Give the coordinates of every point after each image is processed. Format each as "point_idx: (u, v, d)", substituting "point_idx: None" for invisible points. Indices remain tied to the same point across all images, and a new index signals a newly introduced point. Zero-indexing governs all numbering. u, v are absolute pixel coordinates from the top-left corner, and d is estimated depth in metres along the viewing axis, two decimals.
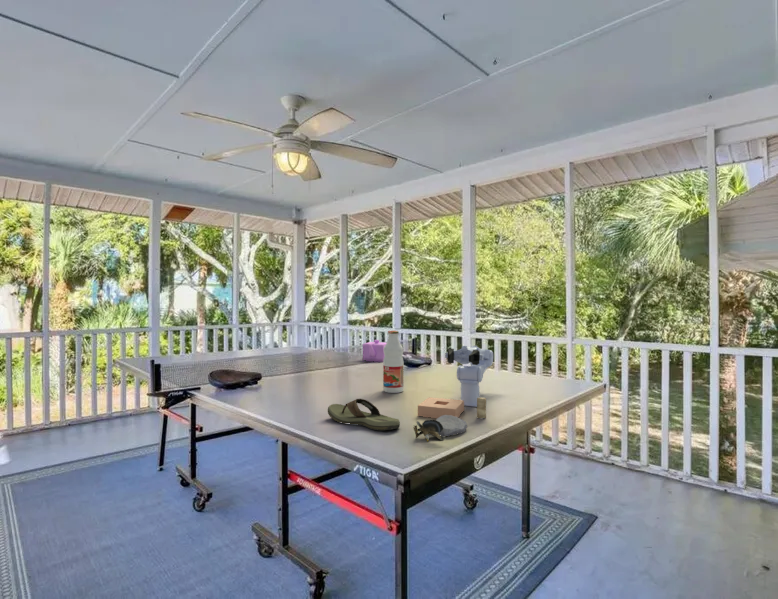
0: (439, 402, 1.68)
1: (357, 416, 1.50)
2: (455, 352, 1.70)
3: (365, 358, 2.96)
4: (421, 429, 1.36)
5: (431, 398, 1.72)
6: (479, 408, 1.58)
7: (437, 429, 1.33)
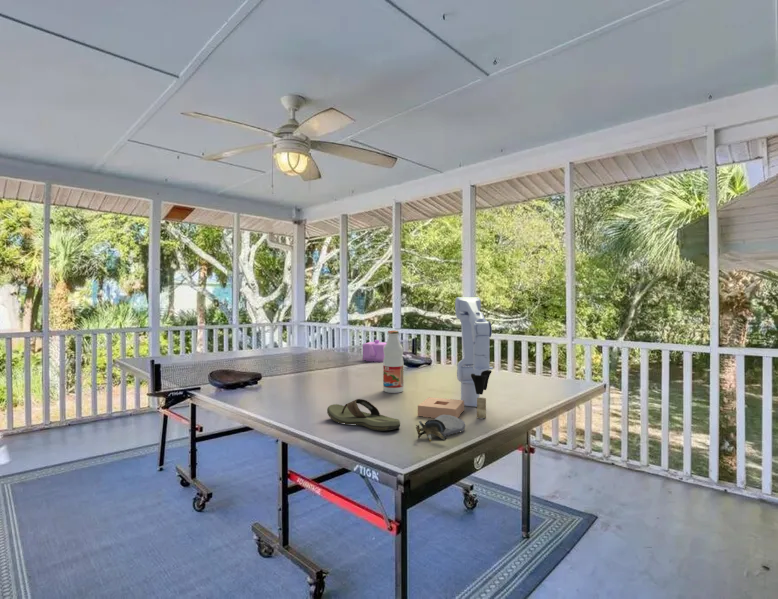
0: (439, 402, 1.68)
1: (357, 416, 1.50)
2: (483, 370, 1.55)
3: (365, 358, 2.96)
4: (423, 429, 1.36)
5: (431, 398, 1.72)
6: (479, 408, 1.58)
7: (440, 429, 1.34)
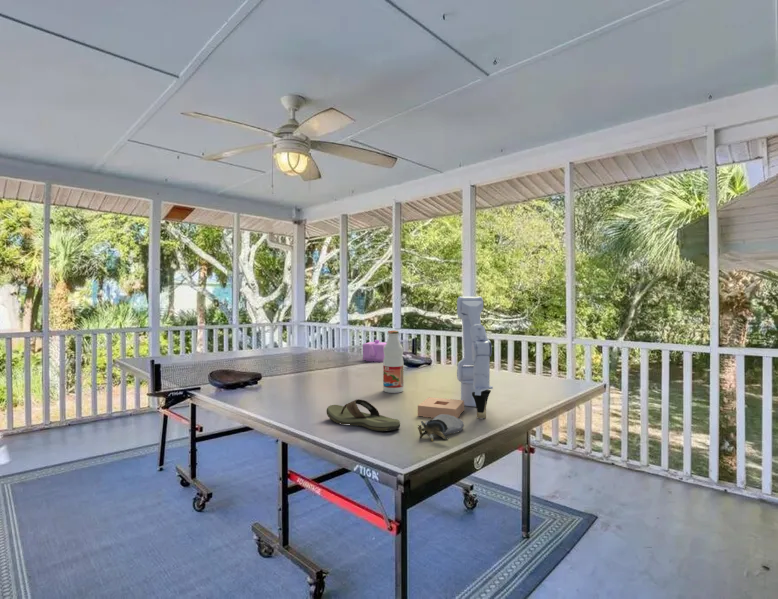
0: (439, 402, 1.68)
1: (357, 417, 1.49)
2: None
3: (365, 358, 2.96)
4: (425, 429, 1.36)
5: (431, 398, 1.72)
6: None
7: (441, 429, 1.34)
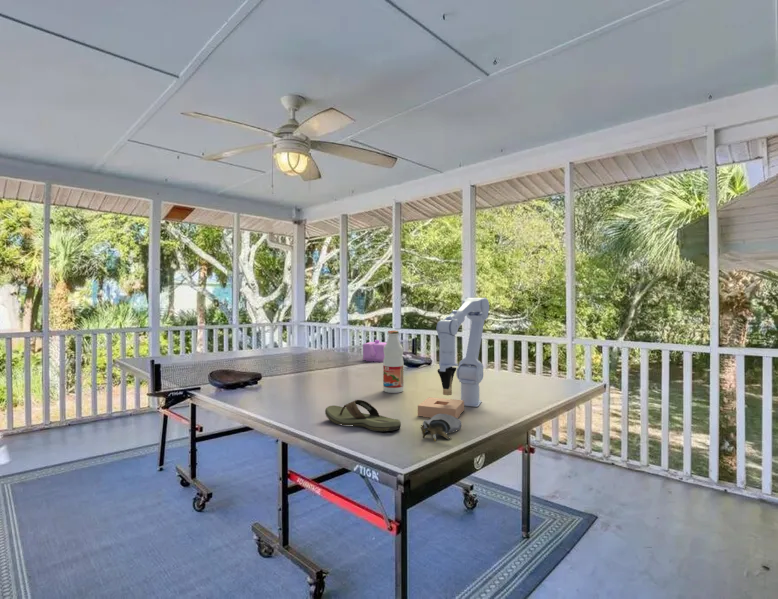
0: (439, 402, 1.68)
1: (357, 417, 1.48)
2: (448, 367, 1.60)
3: (365, 358, 2.95)
4: (428, 429, 1.36)
5: (431, 398, 1.72)
6: None
7: (444, 429, 1.34)
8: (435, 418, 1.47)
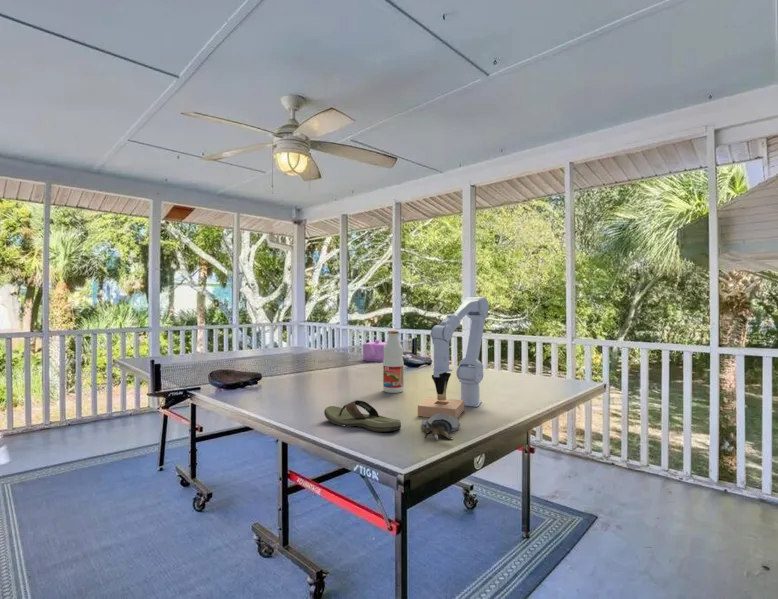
0: (439, 402, 1.68)
1: (357, 418, 1.48)
2: (442, 372, 1.61)
3: (366, 358, 2.95)
4: (430, 429, 1.36)
5: (431, 398, 1.72)
6: None
7: (446, 429, 1.34)
8: (434, 418, 1.47)
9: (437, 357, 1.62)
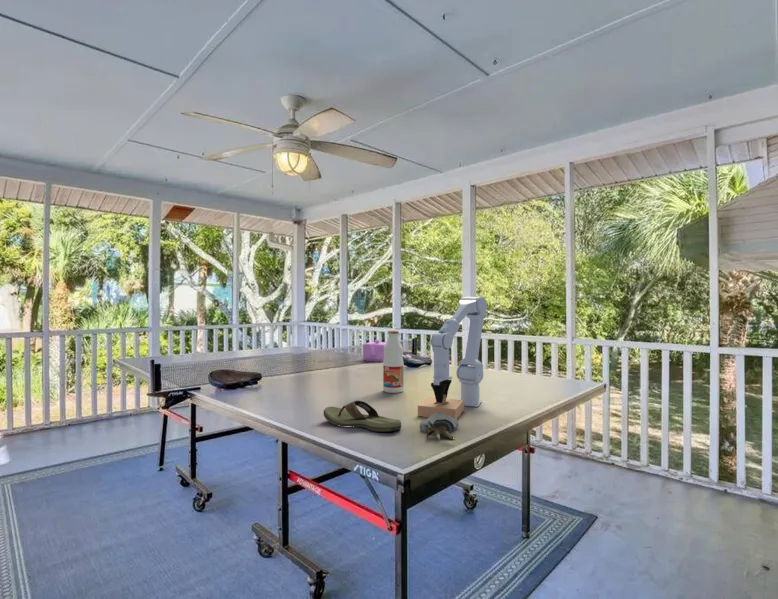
0: None
1: (357, 418, 1.47)
2: None
3: (366, 358, 2.95)
4: (432, 428, 1.36)
5: (431, 398, 1.72)
6: None
7: (448, 428, 1.34)
8: (432, 418, 1.47)
9: (437, 365, 1.62)
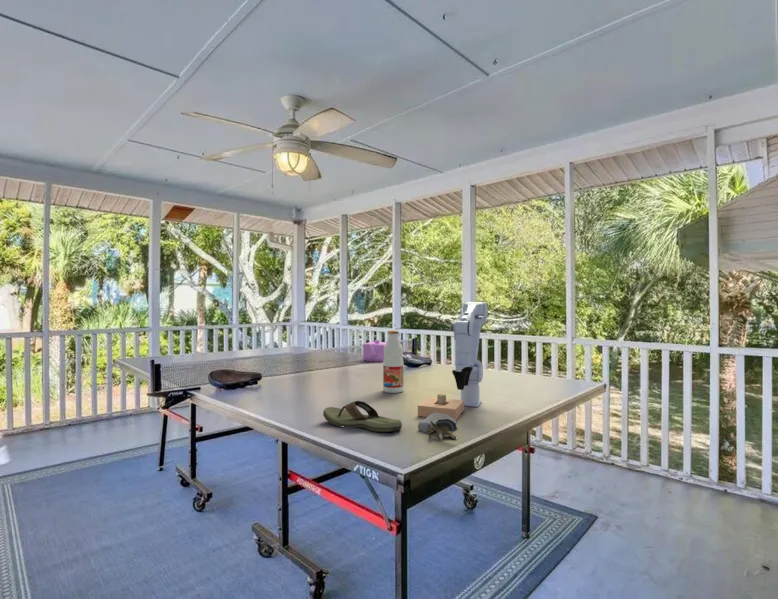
0: None
1: (357, 419, 1.47)
2: None
3: (366, 358, 2.95)
4: (434, 428, 1.36)
5: (431, 398, 1.72)
6: None
7: (451, 428, 1.34)
8: (431, 417, 1.48)
9: (459, 352, 1.64)
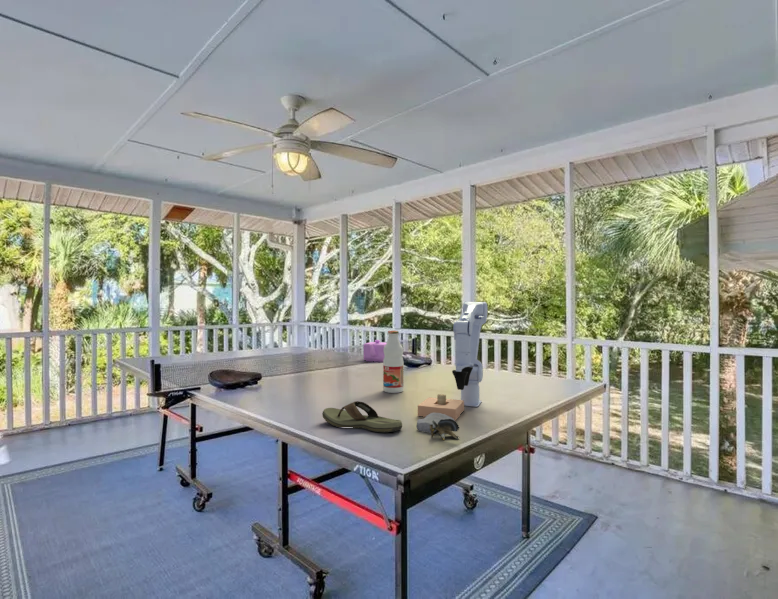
0: None
1: (357, 419, 1.46)
2: None
3: (366, 358, 2.95)
4: (437, 428, 1.36)
5: (431, 398, 1.72)
6: None
7: (453, 428, 1.34)
8: (429, 417, 1.48)
9: (459, 352, 1.64)
